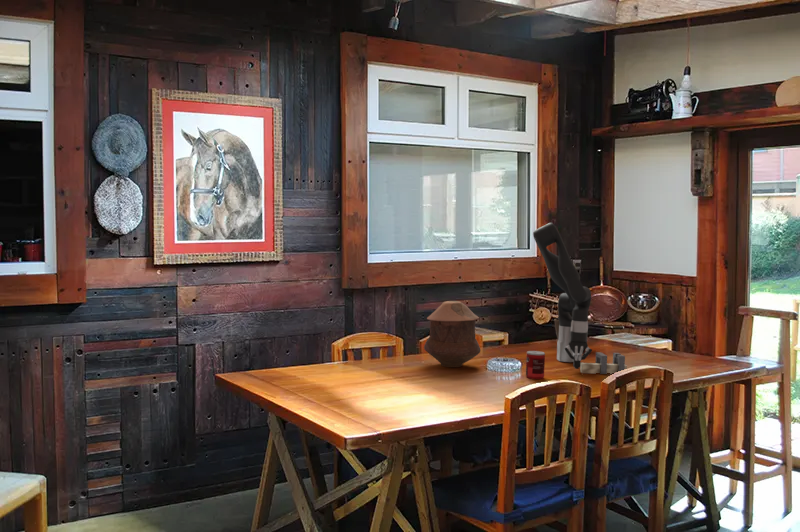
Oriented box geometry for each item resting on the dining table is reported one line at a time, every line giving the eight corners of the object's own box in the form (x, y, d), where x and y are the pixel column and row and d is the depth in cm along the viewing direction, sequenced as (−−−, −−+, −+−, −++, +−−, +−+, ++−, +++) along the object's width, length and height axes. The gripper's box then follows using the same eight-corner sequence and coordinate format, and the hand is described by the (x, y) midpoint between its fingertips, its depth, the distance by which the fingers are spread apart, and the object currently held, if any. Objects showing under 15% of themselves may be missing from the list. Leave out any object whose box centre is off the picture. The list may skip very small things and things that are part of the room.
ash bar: (582, 373, 348) (582, 364, 348) (580, 371, 353) (580, 362, 352) (626, 374, 348) (627, 365, 348) (624, 372, 352) (624, 363, 352)
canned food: (531, 375, 340) (532, 350, 340) (547, 377, 335) (548, 352, 335) (522, 377, 334) (523, 352, 334) (538, 380, 329) (539, 354, 329)
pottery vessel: (489, 365, 360) (491, 301, 359) (462, 373, 339) (464, 305, 338) (442, 359, 375) (443, 297, 373) (413, 366, 354) (414, 300, 352)
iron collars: (600, 374, 346) (601, 355, 346) (595, 370, 355) (595, 352, 355) (624, 375, 346) (625, 356, 346) (617, 371, 356) (618, 352, 355)
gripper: (566, 331, 346) (564, 369, 347) (595, 332, 346) (593, 370, 347) (562, 328, 353) (560, 366, 354) (591, 330, 353) (588, 367, 354)
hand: (576, 368), depth 351 cm, fingers closed
